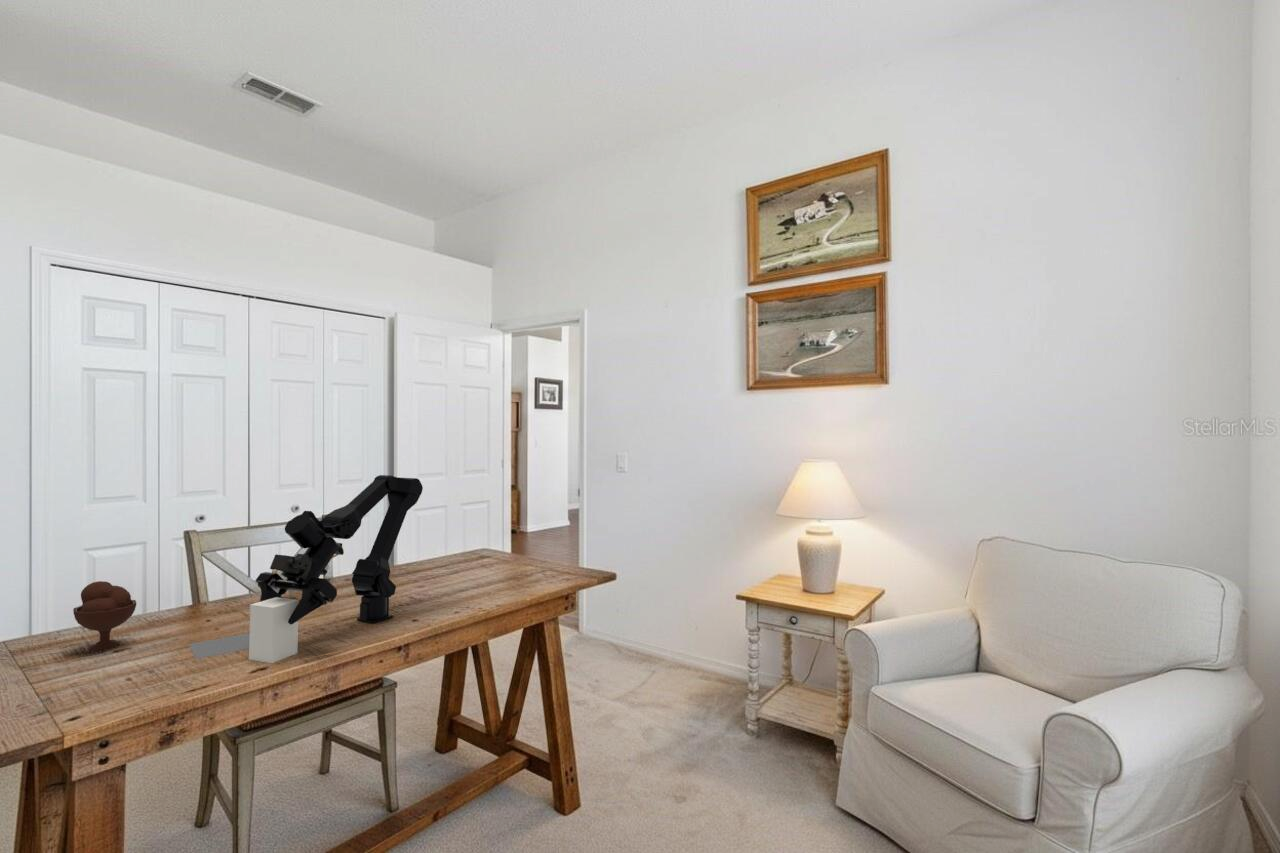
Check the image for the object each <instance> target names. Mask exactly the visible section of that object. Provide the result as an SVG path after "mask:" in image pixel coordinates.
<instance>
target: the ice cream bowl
mask: <svg viewBox="0 0 1280 853" xmlns="http://www.w3.org/2000/svg"><path fill="white" fill-rule="evenodd" d="M80 600H81V603H82V605H79V606H76V607H73V611H72V612H73V615H74V620H75V621H76V622H77V624H79V625H80V626H81V627H83V628H85V629H88V630H91V631H97V632H98V634H99V641H97V642H95V643H94V644H92V645H91V646H89V647H88V652H89V651H93V652H92V653H94V652H97V653H104V652H103V651H106V650H110V649H114V648H116V647H118V646H120V642H118V641H116V640H112V639H111V637H110V636H111V631H112V629H114V628H117V627H119V626H120V625H122V624H124V623H126V621H128V620H129V619H130V618H131V617H133V614H134V612H135V611H136V607H137V604H138V603H137V601H136V599H132V596H131V594H130V592H129V591H128V590H127V589H126V588H125V587H123V586H119V585H113V584H112V583H110V582H108V581H101V580H100V581H98V580H97V581H94V582H91V583H88V584H87V585H86V586H84V588H83V589H82V590H81V593H80ZM100 651H101V652H100Z"/></svg>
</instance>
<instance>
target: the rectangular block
mask: <svg viewBox="0 0 1280 853" xmlns="http://www.w3.org/2000/svg"><path fill="white" fill-rule="evenodd" d="M298 603H299V599H295V598H294V599H292V598H284V597H283V598H278V597H275V598H272V599H268V600H265V601H261V602H260V601H259V602H255V603H251V604H250V605H249V633H250V634H249V649H248V660H250V661H251V660H252V661H256V662H263V663H268V664H274V663H276V662H279V661H281V660H284V659H286V658H289V657H291V656H294V655H297V654H298V648H299V647H298V644H299V643H298V641H299V639H298V637H299V636H298V635H299V620H298V621H296V622H295V623H293V624H292V625H291V624H289V623H288V620H289V618H290V616H291V614H292V613H293V611H294V610H295V608H296V606H297V605H298Z"/></svg>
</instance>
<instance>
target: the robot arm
mask: <svg viewBox="0 0 1280 853" xmlns="http://www.w3.org/2000/svg"><path fill="white" fill-rule="evenodd" d="M420 480H421V479H419V478H417V477H416V478H415V477H414V478H413V477H397V476H394V475H388V474H387V475H385V474H379V475H377V476H375V477H374V479H373V481H372V482H371V483H370V484H369V485H368V486H366V487H365V489H363V490H362V491H361V492H360V493H359V494H358V495H357V496H355V497H354V498H353V499H352V500H351V501H349V503H348V504H346V505H345V506H342V507H340V508H336V509H334V510H333V511H331V512H329V513H328V514H326V515H325V516H323V517H322V519H320V520H319V519H318V518H317V517H316V514H315V513H314V512H313V511H312V510H304V511H303V512H302V513H301V514H299V515H297V516H294V517H293V518H292V519H290V520H288V521H287V522H286V525H285V526H284V532H285V533H286V534H287V535H288V537H290V538H291V539H292V540H293V542H294V543H296V544H297V545H298V546H299V547H300V548H301V549H305V551H304V553H296V555H295V556H291V555H285V554H284V555H283V554H274V557H273V560H272V562H271V564H270V567H269V569H270V570H271V571H272V570H274V569H276V570H279V571H282V575H283V576H284V577H286V578H287V579H286V580H283V579H282V578H281V577H280V576H279V575H278V574H277V573H272V572H270V571H269V572H268V571H264V572H261V573H259V575H258V577H257V578H256V579H255V581H254V582H255V583H256V584H257V586H258V588H260V591H261V592H260V593H261V594H260V598H259V599H260V600H259V602H261V601H265V600H268V599H272V598H275V597H278V598H284V597H283V595H285V594H286V593H287V591H289V590H294V591H295V592H296V591H297V592H302V593H301V598H300V599H299V600H298V605H297V606H296V608H295V610H294V611H293V613H292V614H291V616H290V618H289V620H288V623H289V624H291V625H292V624H293V623H295V622H296V621H298V622H299V621H300V620H301V619H302V618H305V616H307V615H309V614H310V613H311V612H313V611H315V610H316V609H319V608H321V607H322V606H326V605H327V604H328V603H334V601H335V599H336V597H337V596H338V589H337V588H336V587H335V586H334V584H332V583H331V581H329V580H328V579H327V578H323V577H322V578H321V577H320V576H326V574H327V573H328V570H326V569H325V568H326V566H327V565H329V564H330V562H331V560H333V558H332V557H333V556H334V555H335V554H338V555H337V556H342V555H344V553H345V552H344V548H343V543H341V542H337V541H336V540H335V539H340V540H349V539H351V538H352V537H354V535H355V534H356V533H357V532H358V530H359V528H360V527H361V525H362V520H363V519H364V518H365V516H366V515H367V514H368V513H369V512H370V511H371V510H372V509H373V508H375V507H376V505H377V504H379V503H380V502H381V500H383V499H384V498H385V496H387V501H388V504H389V506H388V508H387V511H386V512H385V515H384V518H383V521H382V523H381V524H380V527H379V529H378V530H379V531H378V533H377V535H376V537H375V540H374V542H373V545H372V548H371V550H370V553H369V554H368V555H367V556H366V558H364V559H363V558H359V559H357V562H356V564H355V568H354V570H353V571H352V573H351V575H352V577H351V583H352V585H353V589H354V593H355V596H361V597H360V598H361V599H360V604H359V616H357V617H356V620H358V621H362V622H366V623H369V624H375V623H379V622H381V621H385V620H387V619H390V617H391V618H394V615H393V614H390V613H389V612H390V610H389V609H390V608H389V607H390V598H391V597H392V596H394V595H395V592H396V589H397V586H396V584H394V583H393V581H392V580H391V579H390V574H391V569H390V568H391V566H390V562H389V560H390V557H391V554H392V552H393V549H394V548H395V547H394V546H395V544H396V542H397V539H398V536H399V534H400V531H401V529H402V526H403V523H404V520H405V518H406V515H407V513H408V511H409V510H410V509H411V508H412V507H414V506H415V505H416V504H417V503H418V501H419V499H420V498H421V495H422V493H423V488H424V487H423V484H422V482H421V481H420Z"/></svg>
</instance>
